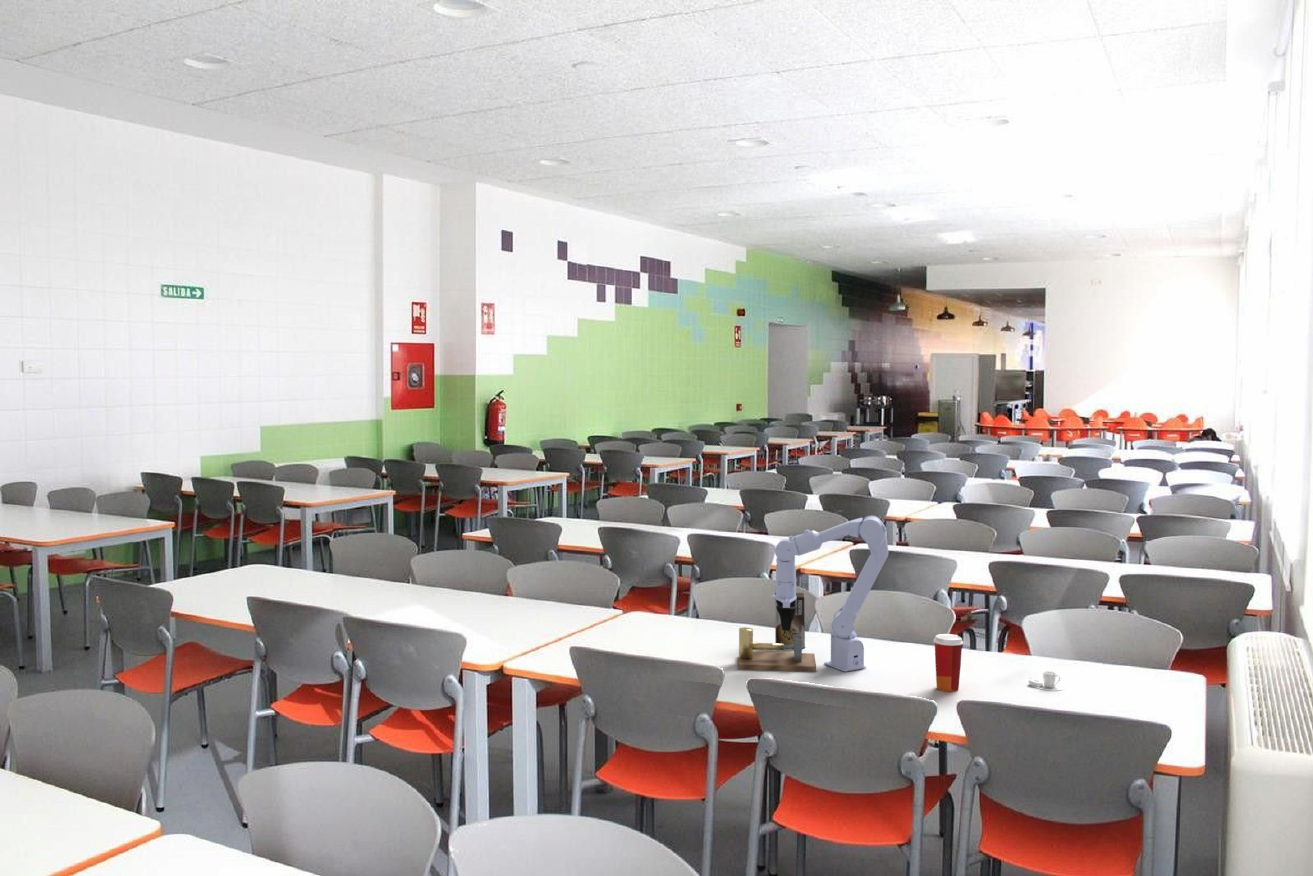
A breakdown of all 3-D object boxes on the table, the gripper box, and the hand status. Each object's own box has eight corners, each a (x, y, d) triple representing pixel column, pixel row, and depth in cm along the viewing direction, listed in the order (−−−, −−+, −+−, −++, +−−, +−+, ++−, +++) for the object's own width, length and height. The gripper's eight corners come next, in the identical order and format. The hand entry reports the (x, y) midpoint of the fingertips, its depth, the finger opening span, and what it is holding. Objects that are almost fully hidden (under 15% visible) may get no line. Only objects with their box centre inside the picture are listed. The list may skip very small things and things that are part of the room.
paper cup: (957, 684, 279) (957, 633, 279) (966, 693, 272) (967, 640, 271) (928, 684, 279) (929, 633, 278) (937, 693, 271) (937, 640, 271)
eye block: (814, 658, 306) (814, 630, 305) (816, 671, 292) (816, 642, 291) (739, 656, 308) (739, 628, 307) (738, 669, 294) (738, 640, 294)
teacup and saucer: (1025, 687, 278) (1025, 672, 278) (1038, 681, 284) (1038, 666, 283) (1056, 694, 272) (1057, 679, 272) (1069, 688, 277) (1070, 673, 277)
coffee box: (804, 643, 323) (804, 592, 322) (805, 648, 317) (805, 596, 316) (774, 642, 324) (774, 591, 323) (775, 648, 318) (775, 596, 317)
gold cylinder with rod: (783, 656, 301) (784, 628, 301) (784, 659, 297) (784, 631, 297) (739, 655, 303) (739, 627, 302) (738, 658, 299) (738, 630, 298)
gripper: (772, 576, 308) (772, 621, 309) (772, 585, 293) (772, 633, 294) (795, 576, 307) (795, 621, 308) (797, 586, 293) (797, 633, 293)
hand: (786, 627), depth 301 cm, fingers open, 7 cm apart
